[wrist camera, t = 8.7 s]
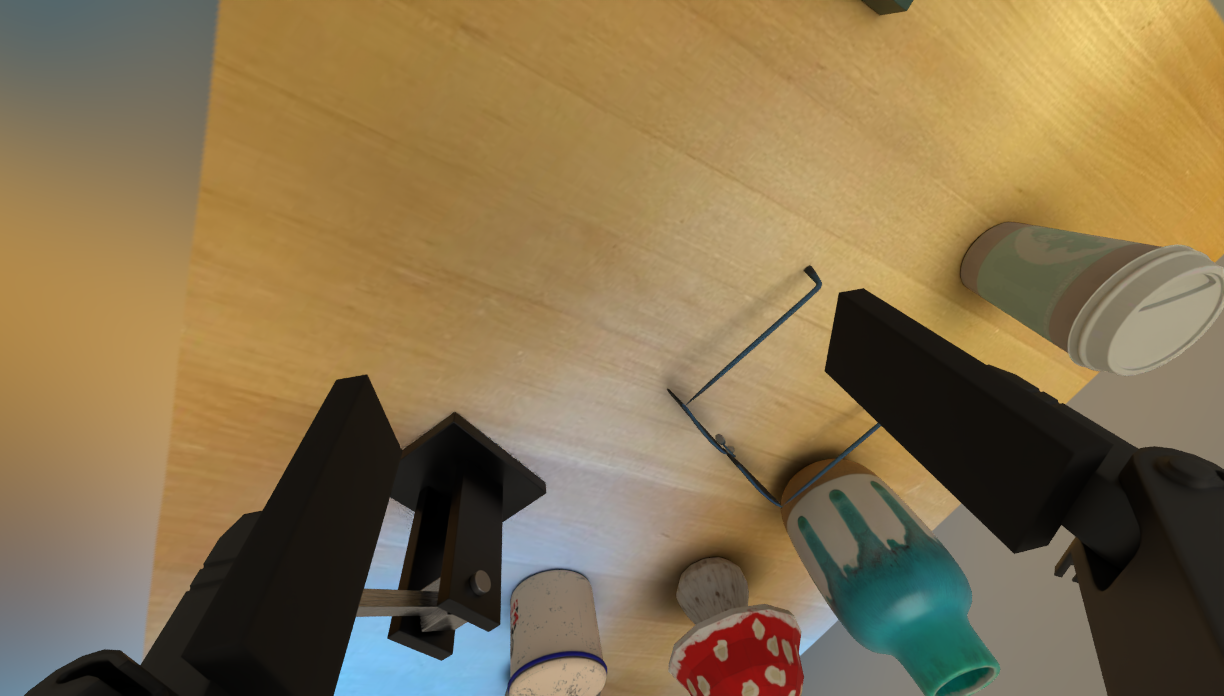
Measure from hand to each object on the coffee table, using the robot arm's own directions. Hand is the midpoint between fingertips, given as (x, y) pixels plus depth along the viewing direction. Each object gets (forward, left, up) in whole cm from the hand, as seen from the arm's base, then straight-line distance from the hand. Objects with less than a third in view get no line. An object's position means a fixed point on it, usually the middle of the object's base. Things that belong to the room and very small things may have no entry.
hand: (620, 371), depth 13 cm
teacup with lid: (+33, -27, -20) cm, 47 cm away
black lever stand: (+13, -21, -19) cm, 31 cm away
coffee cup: (+25, +25, -20) cm, 41 cm away
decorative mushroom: (+43, -13, -20) cm, 49 cm away
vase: (+38, +3, -20) cm, 43 cm away
